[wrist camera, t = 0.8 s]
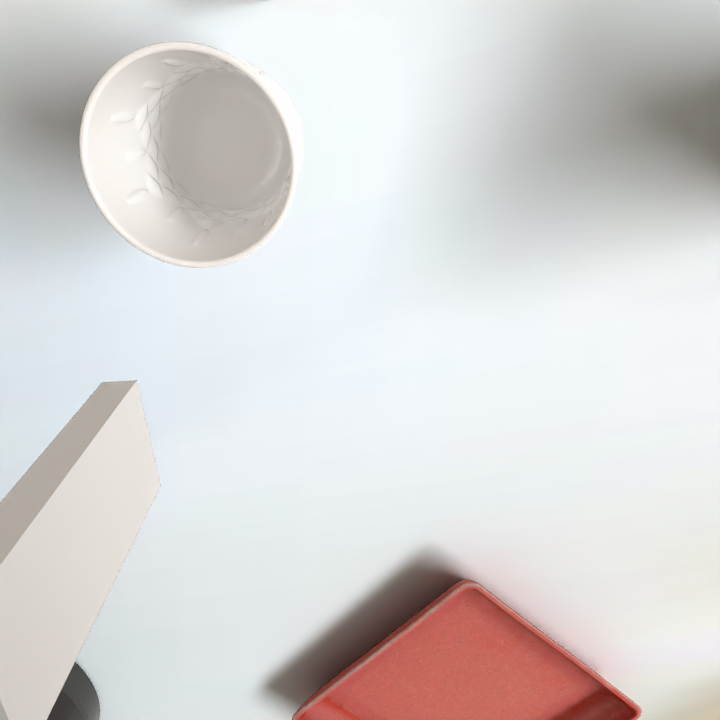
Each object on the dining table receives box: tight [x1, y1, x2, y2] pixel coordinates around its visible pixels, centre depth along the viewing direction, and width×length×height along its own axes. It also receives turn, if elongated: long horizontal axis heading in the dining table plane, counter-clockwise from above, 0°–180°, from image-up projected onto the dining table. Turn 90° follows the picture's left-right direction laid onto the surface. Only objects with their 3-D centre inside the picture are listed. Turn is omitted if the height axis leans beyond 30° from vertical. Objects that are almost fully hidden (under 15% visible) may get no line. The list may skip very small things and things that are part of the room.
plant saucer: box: [292, 580, 642, 720], centre depth 47 cm, size 18×18×3 cm
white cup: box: [79, 42, 304, 268], centre depth 28 cm, size 8×8×10 cm
